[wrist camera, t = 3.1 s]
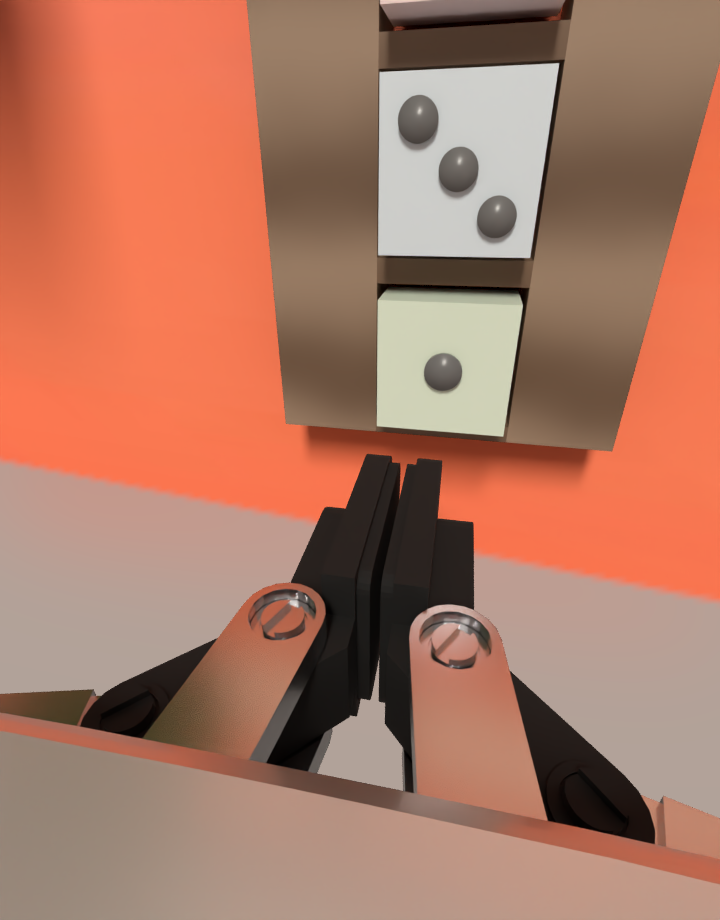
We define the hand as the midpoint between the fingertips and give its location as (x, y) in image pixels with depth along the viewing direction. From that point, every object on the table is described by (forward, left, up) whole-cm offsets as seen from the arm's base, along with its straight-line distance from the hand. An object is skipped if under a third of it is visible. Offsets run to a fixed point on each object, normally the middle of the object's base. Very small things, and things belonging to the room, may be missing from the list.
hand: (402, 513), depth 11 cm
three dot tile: (-7, 0, -11) cm, 13 cm away
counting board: (-7, 0, -13) cm, 15 cm away
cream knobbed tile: (0, 0, -11) cm, 11 cm away
